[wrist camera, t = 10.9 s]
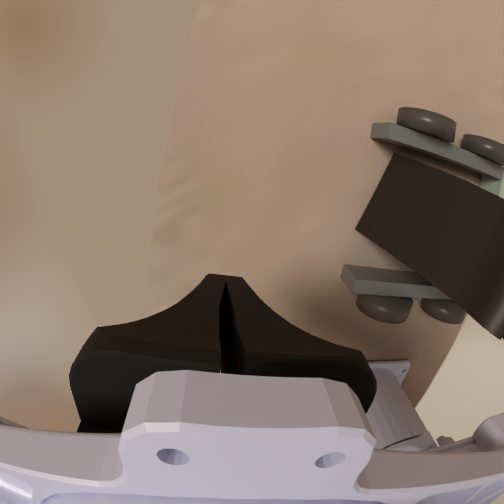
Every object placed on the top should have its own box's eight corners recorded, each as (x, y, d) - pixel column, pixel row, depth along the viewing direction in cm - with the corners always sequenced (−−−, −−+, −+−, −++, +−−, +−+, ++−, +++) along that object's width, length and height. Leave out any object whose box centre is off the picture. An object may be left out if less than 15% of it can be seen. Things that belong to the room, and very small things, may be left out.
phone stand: (469, 211, 21) (580, 267, 10) (435, 274, 23) (530, 357, 12) (392, 151, 19) (527, 180, 8) (353, 227, 21) (457, 317, 10)
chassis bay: (453, 301, 24) (478, 323, 20) (336, 293, 23) (354, 322, 19) (493, 151, 20) (526, 157, 16) (375, 105, 18) (404, 100, 15)
